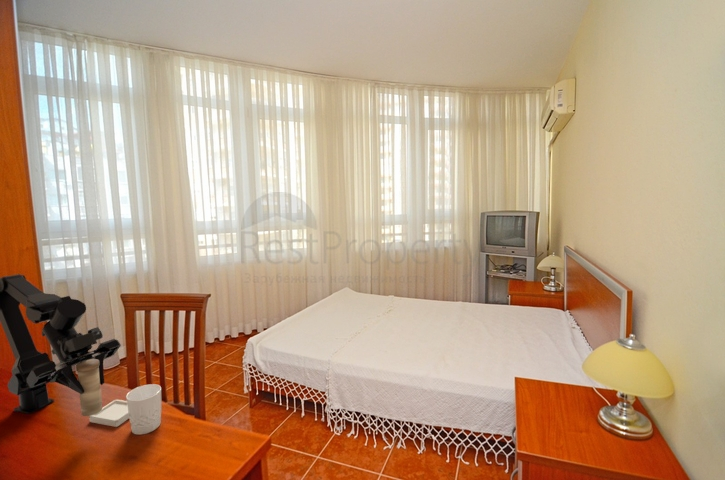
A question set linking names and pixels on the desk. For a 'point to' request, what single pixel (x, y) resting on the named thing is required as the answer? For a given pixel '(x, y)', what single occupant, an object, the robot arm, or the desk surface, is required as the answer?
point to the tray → (112, 414)
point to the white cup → (144, 408)
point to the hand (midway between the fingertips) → (93, 388)
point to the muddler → (89, 387)
